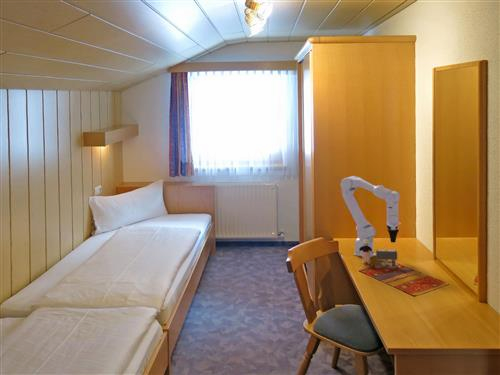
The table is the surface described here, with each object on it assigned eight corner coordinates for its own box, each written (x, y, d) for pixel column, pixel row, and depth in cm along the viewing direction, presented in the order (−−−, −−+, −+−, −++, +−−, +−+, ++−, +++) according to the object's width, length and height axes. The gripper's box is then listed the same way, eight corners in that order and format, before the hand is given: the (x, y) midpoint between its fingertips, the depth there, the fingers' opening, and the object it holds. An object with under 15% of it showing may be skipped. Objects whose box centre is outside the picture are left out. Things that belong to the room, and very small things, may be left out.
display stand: (375, 267, 265) (375, 260, 264) (374, 264, 271) (374, 256, 270) (398, 268, 263) (398, 260, 262) (397, 264, 269) (397, 257, 268)
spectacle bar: (376, 259, 266) (376, 251, 265) (376, 257, 269) (376, 249, 268) (397, 259, 264) (397, 251, 263) (396, 258, 266) (396, 250, 266)
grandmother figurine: (372, 261, 275) (372, 238, 273) (373, 264, 271) (373, 239, 270) (357, 261, 276) (357, 238, 274) (358, 264, 272) (358, 240, 270)
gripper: (401, 217, 266) (401, 244, 268) (399, 212, 280) (399, 237, 282) (387, 217, 268) (387, 243, 270) (385, 212, 282) (386, 237, 284)
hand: (392, 240), depth 276 cm, fingers open, 7 cm apart
